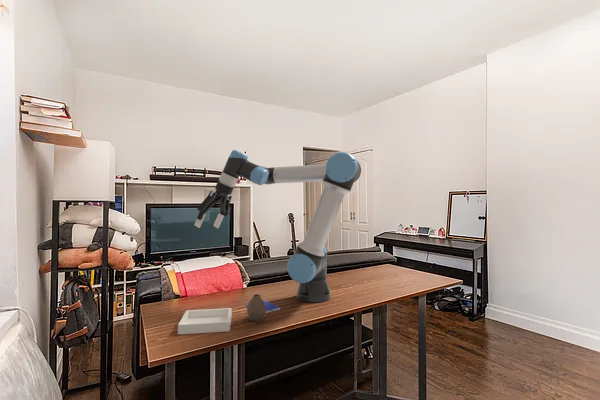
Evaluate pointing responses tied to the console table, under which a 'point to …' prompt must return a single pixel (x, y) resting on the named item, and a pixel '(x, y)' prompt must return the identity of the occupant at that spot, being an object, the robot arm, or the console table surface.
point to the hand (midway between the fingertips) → (206, 226)
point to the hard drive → (269, 307)
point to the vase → (256, 308)
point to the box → (205, 321)
